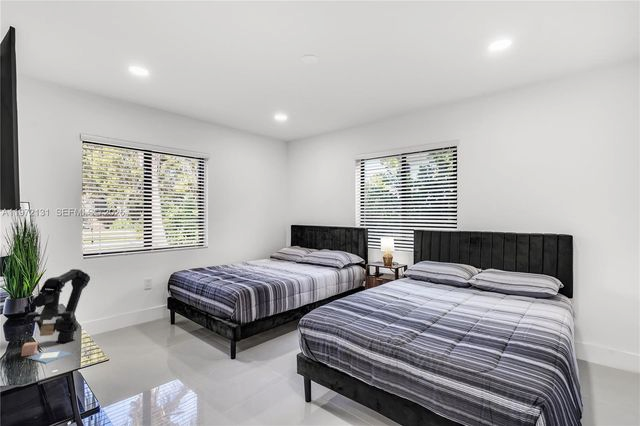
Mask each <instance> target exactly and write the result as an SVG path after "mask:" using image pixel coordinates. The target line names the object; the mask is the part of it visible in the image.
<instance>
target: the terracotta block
mask: <svg viewBox="0 0 640 426" xmlns="http://www.w3.org/2000/svg"><path fill="white" fill-rule="evenodd" d="M38 343H39V341H34V342H33V341H31V342H25V343H24V344H23V345H22V348H21V354H20V356H21V357H25V356H26V357H28V356H32V355H35V354H37V352H38ZM36 351H37V352H36ZM27 355H28V356H27Z"/></svg>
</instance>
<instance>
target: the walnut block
mask: <svg viewBox="0 0 640 426" xmlns="http://www.w3.org/2000/svg"><path fill="white" fill-rule="evenodd" d="M55 323H56V322H45V323H44V322H43V325H42V326H41V330H39V336H40V337H44V336H45V337H47V336H53V335H54V334H55V332H53V331H54V326H55Z"/></svg>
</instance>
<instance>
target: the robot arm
mask: <svg viewBox="0 0 640 426" xmlns="http://www.w3.org/2000/svg"><path fill="white" fill-rule="evenodd" d="M90 280H91V276H90V275H89V274H88V273H86V272H84V271H83V270H81V269H79V268H73V269H70V270H69V271H67V272H65V273H63V274H61V275H59V276H56V277H55V276H54V277H49V278H47V279H46V280H45V281H44V283H43V284H42V287H41V288H40V290H39V293H38V295H37V296H34V298H33V300H32V304H33V306H34V307H36V308H41V307H43V309H42V311H41V313H39V311H36V312H34V311H33V312H29V313H27V314H26V315H25V316H24V321H25V322H26V321H27V322H28V321H29V322H30V321H32V322H33V323H36V324H37V327H38V329H39V330H38V331H40V330H41V326H42V325H43V324H44V321H51V320H52V319H54V318H56V320H55V322H54V323H55V326H54V331H53V332H54V333H55V332H57V333H58V335H57V340H56V341H55V343H59V344H63V345H64V344H68V343H72V342H74V341H76V339H75V338H74V334H75V332H77V330H78V328H79V325H78V324H77V322H76V321H77V318H76V310H77V307H78V304H79V301H80V298H81V295H82V292H83V289H85V288H86V287H87V286H88V284H89V282H90ZM70 281H71V283H70V284H71V287H72V289H71V293H70V295H69V297H68V300H67V304H66V307H65V310H64V311H63V312H59V311H60V310H59V303H60V298H61V297H60V296H61V293H63V290H62V289H63V288H64V287H65V286H66V283H68V282H70Z"/></svg>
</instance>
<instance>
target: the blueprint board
mask: <svg viewBox="0 0 640 426" xmlns="http://www.w3.org/2000/svg"><path fill="white" fill-rule="evenodd" d="M70 355H72V353H71V352H68V351H63V350H59V349H55V348H51V349H48V350H45V351H41V352H39V353H35V354H34V355H28V356H26V357H27V359H28V360H31V359H32V360H33V361H35V360H36V362H39V363H43V364H48V363H52V362H53V361H58V360H60V359H62V358H65V357H68V356H70ZM32 360H31V361H32Z"/></svg>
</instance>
